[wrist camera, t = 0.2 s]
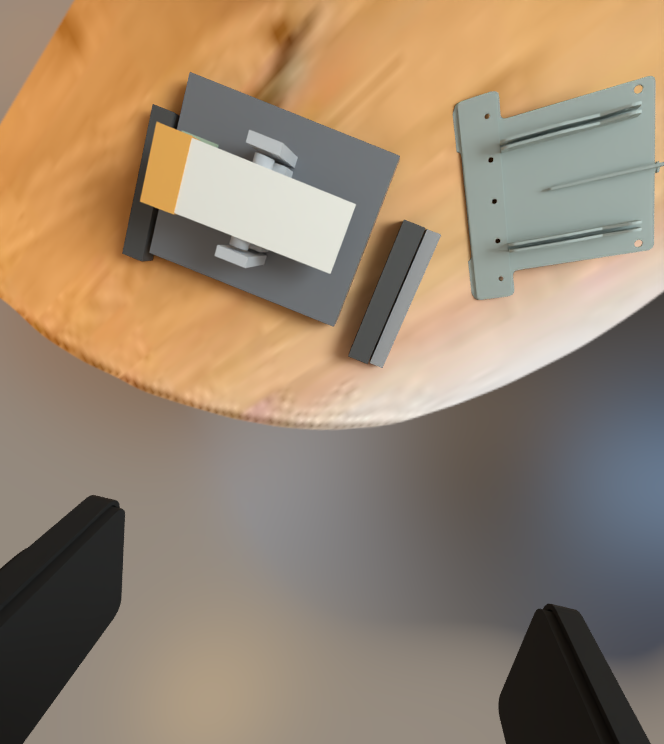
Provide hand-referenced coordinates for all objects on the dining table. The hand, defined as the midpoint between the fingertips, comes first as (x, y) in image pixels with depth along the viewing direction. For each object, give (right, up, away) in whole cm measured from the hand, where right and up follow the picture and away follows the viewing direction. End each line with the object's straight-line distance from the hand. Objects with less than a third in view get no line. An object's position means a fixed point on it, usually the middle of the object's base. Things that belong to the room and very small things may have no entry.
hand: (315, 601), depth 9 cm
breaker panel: (-5, +19, +26) cm, 33 cm away
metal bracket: (+17, +19, +24) cm, 36 cm away
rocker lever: (-5, +17, +22) cm, 28 cm away
